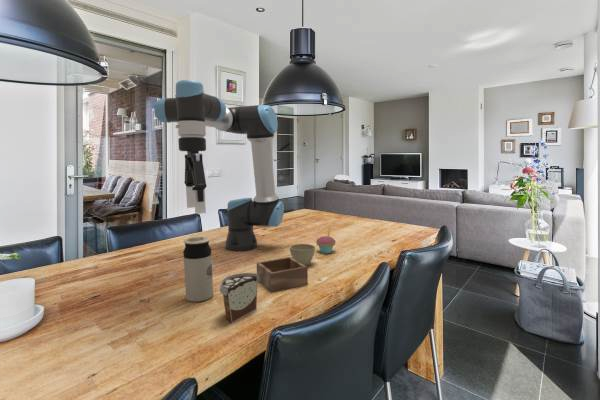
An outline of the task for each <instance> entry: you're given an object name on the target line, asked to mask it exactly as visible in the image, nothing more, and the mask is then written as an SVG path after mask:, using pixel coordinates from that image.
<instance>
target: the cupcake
mask: <svg viewBox="0 0 600 400" xmlns="http://www.w3.org/2000/svg"><path fill="white" fill-rule="evenodd" d="M330 231H331V226H329V227H328V232H327V236H325V235H323V236H320V237H319V238H317V239H316V240H315V241H316V242H315V243H316V245H317V246H318V248H319V251H320V253H321V254H331V253H332V251H333V247H334V246H335V245H336V240H335V238H333V237H331V236H330Z"/></svg>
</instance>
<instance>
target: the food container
mask: <svg viewBox="0 0 600 400" xmlns="http://www.w3.org/2000/svg"><path fill="white" fill-rule="evenodd" d="M258 282H260V281H259V276H258V274H257V273H254V272H241V273H235V274H231V275H228V276H226V277H224V278H222V280H221V282H220V286H219V292H220V294H221V295H222V297H223V304H224V311H225V312H224V313H225V318H226V321H227V322H228V323H229V324H234V323H235V322H238V321H239V320H241V319H242V318H245V317H246V316H248V315H250V314H252V313H253V312H255V311H256V310H257V307H258V306H257V305H258Z"/></svg>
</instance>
